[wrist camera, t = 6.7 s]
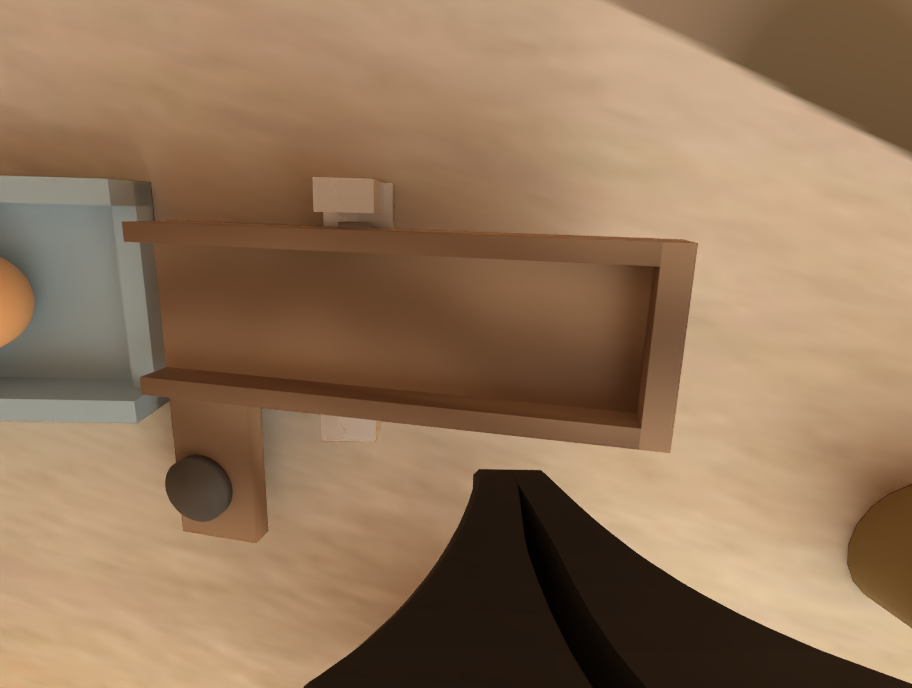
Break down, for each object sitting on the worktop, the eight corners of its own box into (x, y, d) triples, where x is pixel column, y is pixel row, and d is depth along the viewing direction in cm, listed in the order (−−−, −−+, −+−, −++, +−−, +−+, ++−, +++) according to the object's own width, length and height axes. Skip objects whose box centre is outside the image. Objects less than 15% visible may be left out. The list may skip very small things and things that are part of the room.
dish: (172, 398, 21) (119, 435, 18) (-56, 394, 21) (-154, 430, 17) (150, 182, 19) (86, 176, 16) (-102, 175, 19) (-222, 167, 15)
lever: (636, 574, 19) (645, 634, 16) (206, 508, 22) (154, 549, 19) (678, 233, 16) (698, 237, 13) (179, 215, 19) (115, 216, 16)
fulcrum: (393, 407, 21) (384, 441, 18) (331, 406, 21) (312, 440, 18) (393, 183, 19) (383, 179, 16) (325, 181, 19) (302, 176, 16)
